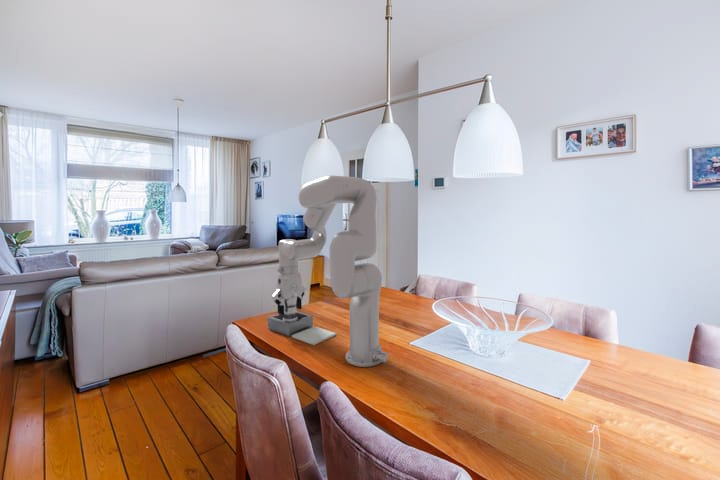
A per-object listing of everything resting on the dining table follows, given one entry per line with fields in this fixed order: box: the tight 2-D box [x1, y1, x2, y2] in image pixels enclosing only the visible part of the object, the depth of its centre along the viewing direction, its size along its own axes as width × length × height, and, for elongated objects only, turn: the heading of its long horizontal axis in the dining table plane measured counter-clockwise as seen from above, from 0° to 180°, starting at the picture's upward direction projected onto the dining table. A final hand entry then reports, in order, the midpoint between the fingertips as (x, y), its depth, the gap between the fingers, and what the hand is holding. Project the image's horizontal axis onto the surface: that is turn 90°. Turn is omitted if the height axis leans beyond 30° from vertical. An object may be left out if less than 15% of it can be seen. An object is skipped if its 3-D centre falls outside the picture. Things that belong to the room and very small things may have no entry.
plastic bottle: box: [283, 292, 298, 323], centre depth 136 cm, size 6×7×20 cm
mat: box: [291, 326, 337, 346], centre depth 129 cm, size 12×12×1 cm
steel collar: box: [267, 310, 314, 338], centre depth 137 cm, size 13×12×5 cm
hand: (290, 311), depth 137 cm, fingers open, 8 cm apart
